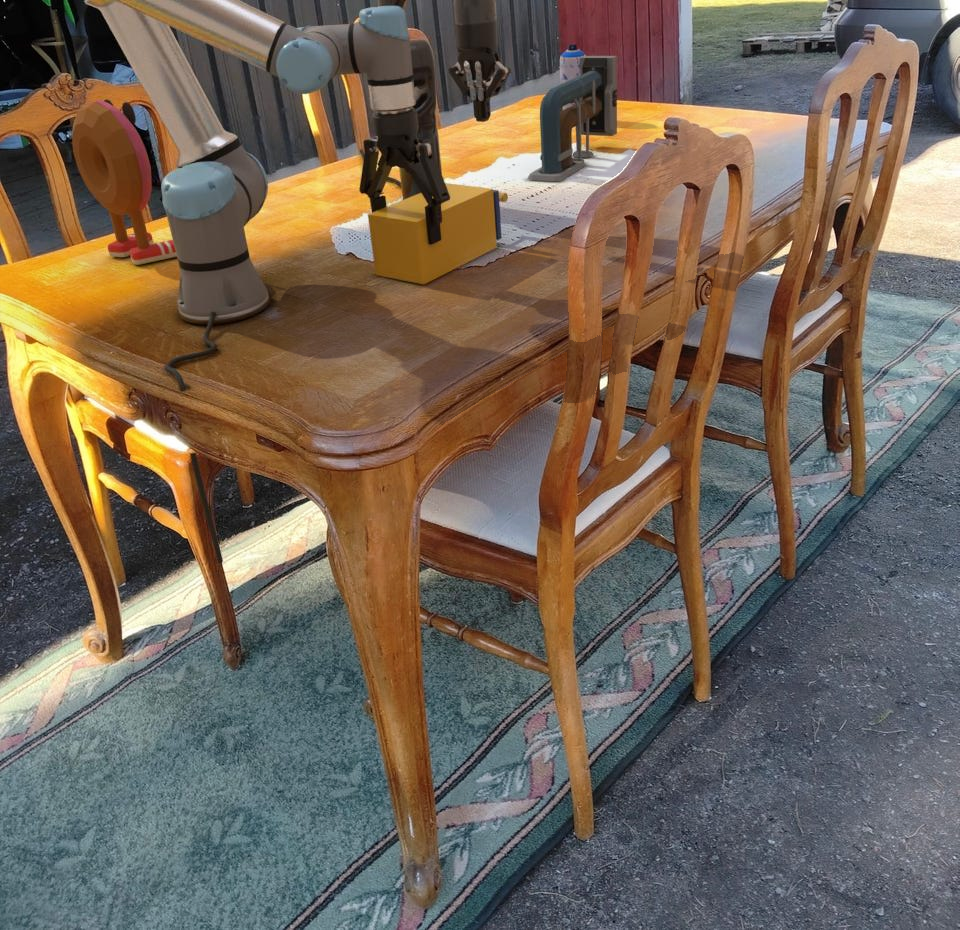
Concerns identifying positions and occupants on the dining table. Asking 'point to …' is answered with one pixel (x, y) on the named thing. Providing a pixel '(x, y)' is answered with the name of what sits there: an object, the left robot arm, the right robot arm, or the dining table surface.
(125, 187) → the toy
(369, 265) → the dining table surface
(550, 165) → the clamp
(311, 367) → the dining table surface
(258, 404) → the dining table surface
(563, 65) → the aerosol can
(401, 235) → the yellow rectangular block
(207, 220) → the left robot arm
